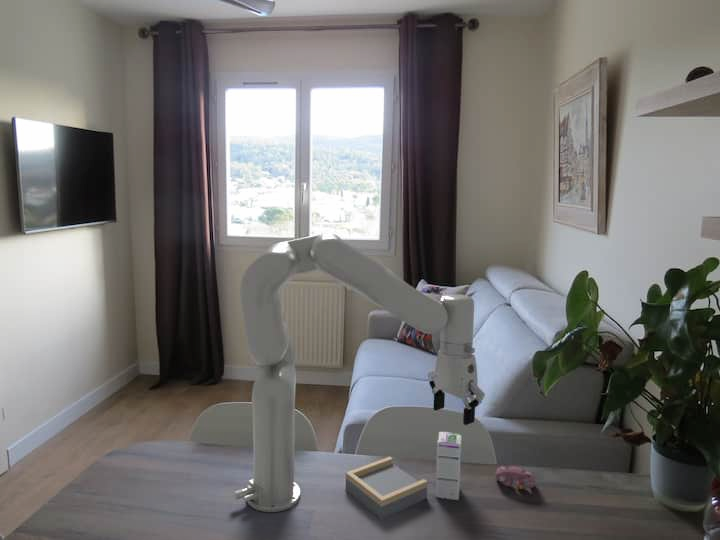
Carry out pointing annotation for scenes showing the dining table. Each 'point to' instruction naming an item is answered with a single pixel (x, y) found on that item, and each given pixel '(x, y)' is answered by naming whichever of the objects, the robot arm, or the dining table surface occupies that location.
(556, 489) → the dining table surface
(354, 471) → the tray
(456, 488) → the syrup box
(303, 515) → the dining table surface
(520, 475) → the pink toy figure
